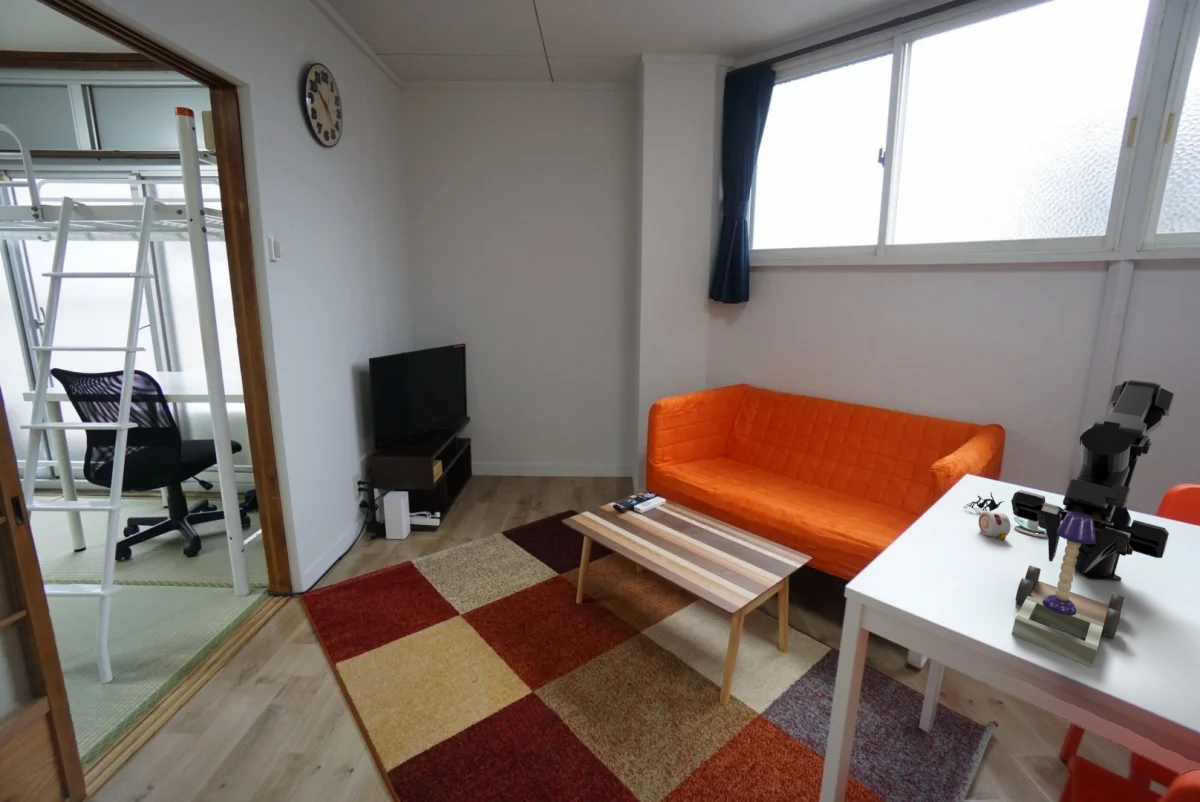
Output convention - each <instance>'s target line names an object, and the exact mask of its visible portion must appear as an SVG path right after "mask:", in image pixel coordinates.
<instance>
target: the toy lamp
mask: <svg viewBox="0 0 1200 802" xmlns="http://www.w3.org/2000/svg"><path fill="white" fill-rule="evenodd" d="M1057 534H1058V535H1059V536H1060V537H1059V538H1063V539H1064V540H1066V546H1065V548H1064V555H1063V557H1062V563H1061V566H1060V570H1061V571H1060V573H1059V575H1058V578H1059V580H1058V581H1057V585H1056V587H1058V589H1057V590H1056V595H1049V596H1047V597H1045V598H1044V600H1043V602H1042V603H1043V605H1044V606H1045V607H1046V608H1048V609H1049V610H1051V611H1053V612H1056V613H1058V614H1062V615H1068V616H1072V615H1075V614H1076V607H1075V605H1074V604H1073V603H1072V602H1071V601H1070V600H1069V596H1070V593H1069V591H1070V592H1071V589H1072V583H1073V581H1074V573H1075V572H1076V570H1075V565H1076V563H1077V556H1078V555H1079V549H1078V548H1080V546H1081V543H1082V544H1093V543H1095V541H1096V536H1095V528H1094V521H1093V518H1092V517H1091V516H1090V515H1088V514H1085V513H1082V512H1076V511H1071V512H1069V513H1068V514H1067V515H1066V516H1065V518H1064V519H1063V521H1062V522H1061V523H1060V526H1059V527H1058V529H1057Z"/></svg>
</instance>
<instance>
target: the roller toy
mask: <svg viewBox="0 0 1200 802" xmlns="http://www.w3.org/2000/svg"><path fill="white" fill-rule="evenodd" d="M979 514H980V515H978V516H979V517H978V527H979V529H980V531H981V533H982V534H983V535H984V536H987V537H997V539H998V540H1001V541H1004V540H1006V538H1007V536H1008V535H1009V534H1010V532H1011V529H1012V528H1011V525H1012V524H1011V522H1010V518H1009V516H1008V515H1007V514H1006V513H1005V512H1002V511H996V510H992V511H989V510H987V511H986V510H985V511H984V510H983V512H981V513H979Z"/></svg>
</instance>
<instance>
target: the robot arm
mask: <svg viewBox="0 0 1200 802" xmlns="http://www.w3.org/2000/svg"><path fill="white" fill-rule="evenodd" d="M1112 390H1113V391H1112V394H1111V397H1110V400H1109V407H1110V408H1111V409H1112V410H1111V412H1110V414H1107V415H1102V416H1101V415H1100V416H1098V417H1097V418H1096V419H1095V421H1094V422H1093V424H1092V425H1088V426H1087V427H1086V428H1085V430H1084V431H1083V432H1082V433H1081V434H1080V436H1079V445H1080V462H1081V466H1080V468H1079V471H1078V473H1077V476H1076V478H1070V479H1069V483H1068V485H1067V488H1066V490H1065V495H1064V497H1063V501H1062V505H1063V506H1064V507H1063V508H1062V507H1060V506H1059V505H1055V504H1053V503H1048V502H1046V496H1045V495H1041V494H1038V493H1034V492H1031V491H1026V490H1022V489H1020V490H1018V491H1015V492H1014V493H1013V496H1012V498H1011V500H1010V502H1011V507H1012V514H1013V515H1014V516H1015V517H1018V518H1020V519H1023V520H1027V521H1028V520H1030V521H1034V522H1036V521H1038V525H1039V527H1041V528H1043V529H1045V530H1046V531H1045V533H1047V537H1046V538H1047V542H1048V546H1047V547H1048V562H1053V561H1054V559H1055V557H1056V553H1057V549H1058V546H1059V542H1060V541H1059V540H1060V538H1061V537H1060V536H1059V535H1058V534H1057V529H1058V527H1059V526H1060V524H1061V523H1062V521H1063V519H1064V518H1065V516H1066V515H1067V514H1068V513H1069V512H1071V511H1076V512H1082V513H1085V514H1088V515H1090V516H1091V517H1092V518H1093V521H1094V528H1095V536H1096V541H1095V543H1093V544H1082V543H1081V546H1080V548H1078V549H1079V555H1078V556H1077V563H1076V565H1075V572H1077V573H1079V574H1080V575H1082V576H1083V577H1085V578H1087V579H1089V580H1102V581H1103V580H1105V581H1119V582H1121V581H1122V577H1121V576H1119V575H1117V574H1116V570H1117V567H1118V563H1119V559H1120V556H1124V557H1126V555H1129V556H1130V555H1131V556H1132V555H1133V552H1135V553H1138V554H1142V555H1146V556H1149V557H1152V558H1154V559H1155V558H1156V559H1162V558H1163V556H1164V554H1165V550H1166V547H1167V544H1168V540H1169V539H1168V538H1169V535H1170V533H1169V531H1168V530H1167V529H1166V527H1162V526H1159V525H1155V524H1151V523H1148V522H1147V523H1146V522H1144V521H1139V520H1136V519H1133V521H1132V517H1131V515H1130V513H1129V510H1128V508H1127V506H1126V505H1127V502H1128V500H1129V495H1130V492H1131V485H1132V482H1133V480H1134V475H1135V472H1136V469H1137V466H1138V463H1139V459H1140V458H1141V457H1144V455H1146V454H1147V455H1148V454H1149V453H1150V451H1151V450H1152V447H1153V443H1152V442H1151V438H1150V435H1149V434H1151V433H1152V432H1153V431H1155V430H1157V429H1158V428H1160V427H1161V426H1162V423H1163V421H1164V418H1165V417H1170V415H1171V411H1172V410H1173V409H1172V408H1173V404H1174V401H1175V393H1173V392H1171V391H1170V390H1167V389H1165V388H1163V387H1162V385H1161V384H1158V383H1157V382H1151V381H1145V380H1144V381H1143V380H1135V379H1134V380H1133V379H1129V380H1123V382H1122V384H1118V385H1114V388H1113V389H1112Z"/></svg>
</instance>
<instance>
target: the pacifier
mask: <svg viewBox="0 0 1200 802" xmlns="http://www.w3.org/2000/svg"><path fill="white" fill-rule="evenodd" d="M1013 520H1014V521H1015V522H1016V523H1017V525H1015V526H1014V529H1015V530H1016V531H1017V532H1020V533H1023V534H1025V535H1029V536H1032V537H1038V538H1048V537H1047V533H1046V530H1045V529H1043V528H1041V527H1039V525H1038V521H1036V522H1034V521H1030V520H1027V521H1026V520H1025V519H1023V518H1020V517H1017V516H1014V518H1013ZM1036 533H1038V534H1036Z"/></svg>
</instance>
